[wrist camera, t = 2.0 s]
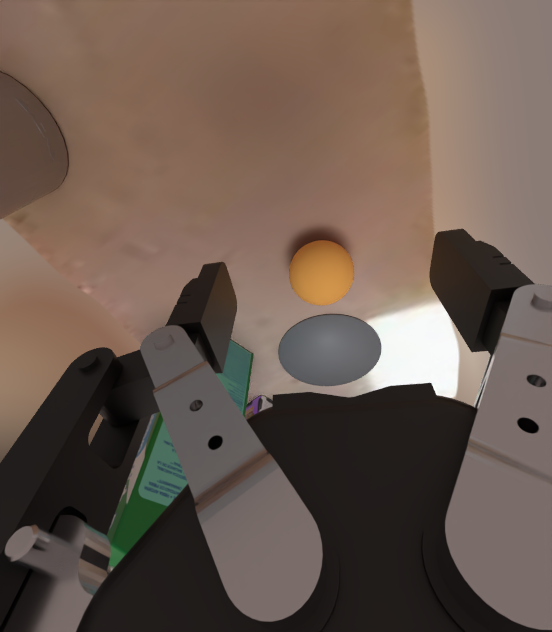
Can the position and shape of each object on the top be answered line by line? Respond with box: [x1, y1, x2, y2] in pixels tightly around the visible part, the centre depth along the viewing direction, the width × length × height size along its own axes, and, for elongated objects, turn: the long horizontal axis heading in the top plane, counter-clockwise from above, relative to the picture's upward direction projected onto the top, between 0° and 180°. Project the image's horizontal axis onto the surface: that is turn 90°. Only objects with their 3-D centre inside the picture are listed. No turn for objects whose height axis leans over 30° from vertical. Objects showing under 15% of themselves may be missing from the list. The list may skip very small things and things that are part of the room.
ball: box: [289, 240, 354, 305], centre depth 29 cm, size 6×6×6 cm
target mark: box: [279, 314, 381, 386], centre depth 40 cm, size 13×13×1 cm
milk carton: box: [106, 340, 253, 571], centre depth 31 cm, size 9×9×25 cm
